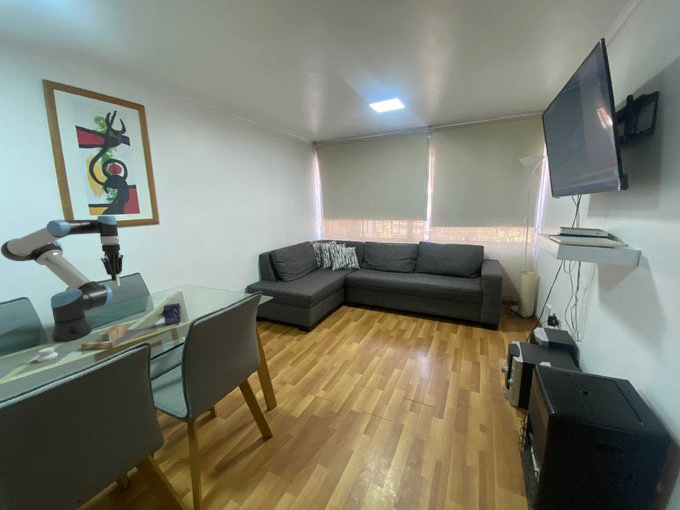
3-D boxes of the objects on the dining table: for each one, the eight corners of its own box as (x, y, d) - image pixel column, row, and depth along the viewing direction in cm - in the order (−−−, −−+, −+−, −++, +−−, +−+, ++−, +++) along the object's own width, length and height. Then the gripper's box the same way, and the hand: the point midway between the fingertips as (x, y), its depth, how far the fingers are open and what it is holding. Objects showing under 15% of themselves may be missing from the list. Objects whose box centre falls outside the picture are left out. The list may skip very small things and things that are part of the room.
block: (116, 334, 142) (99, 343, 131) (115, 325, 142) (98, 334, 131) (126, 333, 143) (110, 343, 132) (124, 324, 142) (108, 333, 131)
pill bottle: (62, 372, 121) (58, 348, 120) (41, 379, 116) (37, 354, 114) (58, 368, 125) (55, 344, 123) (38, 375, 119) (34, 350, 118)
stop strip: (82, 349, 127) (81, 344, 127) (85, 347, 129) (84, 342, 129) (112, 347, 128) (112, 342, 127) (115, 345, 130) (115, 340, 129)
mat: (87, 346, 130) (87, 345, 130) (116, 330, 148) (115, 330, 148) (117, 344, 131) (117, 344, 131) (142, 329, 149) (142, 328, 148)
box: (165, 325, 154) (162, 307, 152) (165, 322, 159) (163, 304, 157) (181, 322, 158) (179, 305, 156) (181, 319, 162) (179, 302, 161)
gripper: (108, 244, 140) (114, 288, 143) (126, 242, 153) (131, 282, 156) (93, 245, 139) (100, 289, 143) (112, 243, 152) (118, 283, 156)
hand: (116, 285), depth 149 cm, fingers closed
